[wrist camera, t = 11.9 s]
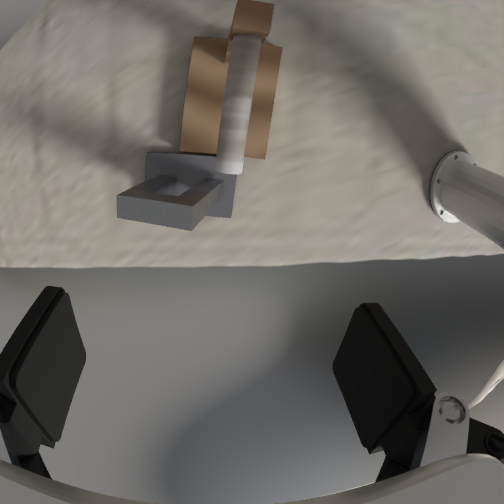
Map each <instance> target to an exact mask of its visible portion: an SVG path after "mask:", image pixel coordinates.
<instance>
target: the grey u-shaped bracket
mask: <svg viewBox="0 0 504 504" xmlns="http://www.w3.org/2000/svg"><path fill="white" fill-rule="evenodd" d="M176 186H177V177H176V176H167V175H159V176H156V177H154V178H152V179H150V180H147V181H145V182H143V183H141V184H139V185H137V186H134V187H132V188H130V189H128V190H126V191H124V192H122V193H120V194H118V195H117V218H122V219H128V220H134V221H139V222H145V223H150V224H156V225H162V226H167V227H173V228H178V229H184V230H189V231H192V230H193V229H194V228H195V226H196V225H197V224H198V223H199V222H200V221H201V220H202V219H203V218H204V217H205V216H206V215H207V214H208V213H209V211H210V210H211V209H212V208H213V207H214V206H215V205H216V204H217V203H218V202H219V201H220V200H221V199H222V196H223V188H224V180H219V179H212V178H205V179H204V180H202V181H201V182H199V183H197V184H196V185H194V186H193V187H191V188H190V189H188V190H187V191H185V192H184V193H182V194H181V195H179V196H174V195H176Z"/></svg>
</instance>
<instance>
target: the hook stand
mask: <svg viewBox="0 0 504 504" xmlns="http://www.w3.org/2000/svg"><path fill="white" fill-rule="evenodd" d="M273 9H274V4H270V3H265V2H259V1H252V0H238V1H237V5H236V9H235V13H234V17H233V22H232V26H231V31H230V35H229V39H221V38H210V37H195V38H194V44H193V49H192V55H191V61H190V68H189V74H188V81H187V88H186V95H185V103H184V111H183V120H182V129H181V139H180V149H179V151H186V152H200V153H213V154H216V161H215V171H216V172H219V173H224V174H241V173H242V168H243V161H244V157H252V158H260V159H265V156H266V149H267V143H268V136H269V130H270V123H271V117H272V110H273V104H274V98H275V91H276V85H277V78H278V72H279V65H280V59H281V53H282V47H277V46H272V45H266V44H262V42H263V41H264V40H265V38H266V37H267V36H268V34H269V33H270V27H271V21H272V15H273Z"/></svg>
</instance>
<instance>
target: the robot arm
mask: <svg viewBox="0 0 504 504" xmlns="http://www.w3.org/2000/svg"><path fill="white" fill-rule="evenodd" d="M430 198H431V204H432V208H433V210H434V212H435V214H436V215H437V216H438V217H439V218H440V219H441V220H443V221H445V222H447V223H456V222H459V221H462V222H463V223H465V224H467V225H468V226H470V227H471V228H473V229H474V230H476V231H477V232H479V233H481V234H482V235H484V236H485V237H487V238H488V239H490V240H491V241H492V242H494V243H495V244H497V245H498V246H500V247H501V248H502V249H504V177H503V176H501V175H498V174H496V173H493V172H491V171H488V170H486V169H483V168H481V167H478V166H477V163H476V162H475V160H474V159H473V157H472V156H471V155H469V154H468V153H466V152H463V151H452V152H450V153H448V154H447V155H445V156H444V157H443V158H442V159H441V161H440V162H439V164H438V165H437V167H436V169H435V171H434V174H433V177H432V181H431V187H430ZM85 362H86V352H85V348H84V346H83V343H82V339H81V336H80V333H79V330H78V326H77V323H76V320H75V316H74V313H73V309H72V305H71V301H70V297H69V295H68V293H65V290H64V289H63V288H61V287H53V286H46V287H45V288H44V290H43V291H42V292H41V294H40V295H39V296H38V298H37V299H36V301H35V302H34V303H33V305H32V306H31V308H30V309H29V310H28V312H27V314H26V315H25V316H24V318H23V319H22V321H21V322H20V324H19V325H18V327H17V328H16V330H15V331H14V333H13V334H12V336H11V338H10V339H9V341H8V343H7V344H6V346H5V347H4V349H3V351H2V352H1V354H0V504H157V503H149V502H141V501H136V500H130V499H124V498H119V497H114V496H109V495H105V494H100V493H96V492H92V491H88V490H85V489H81V488H77V487H74V486H71V485H68V484H64V483H61V482H58V481H55V480H52V478H51V476H50V474H49V472H48V470H47V468H46V466H45V464H44V462H43V460H42V457H41V455H40V453H39V447H40V444H42V445H45V446H48V447H51V448H54V446H55V442H57V441H59V440H60V438H61V435H62V431H63V428H64V424H65V421H66V418H67V414H68V411H69V407H70V405H71V402H72V398H73V395H74V393H75V390H76V387H77V384H78V381H79V378H80V375H81V372H82V370H83V367H84V365H85ZM333 372H334V375H335V377H336V379H337V382H338V385H339V387H340V390H341V392H342V395H343V397H344V400H345V402H346V405H347V407H348V410H349V412H350V415H351V418H352V420H353V422H354V425H355V428H356V430H357V433H358V436H359V438H360V441H361V443H362V445H363V447H365V448H367V450H368V452H369V454H373V453H376V452H379V451H383V450H384V452H385V455H386V456H385V459H384V462H383V465H382V467H381V469H380V471H379V474H378V476H377V479H376V481H375V483H373V484H369V485H366V486H363V487H359V488H356V489H352V490H348V491H344V492H340V493H336V494H331V495H327V496H322V497H317V498H311V499H306V500H299V501H294V502H285V503H278V504H504V434H503V433H502V432H501V431H500V430H498V429H496V428H494V427H492V426H489V425H486V424H484V423H482V422H479V421H477V420H474V419H472V418H470V417H469V416H470V415H469V409H468V406H467V405H466V403H465V402H464V400H463V399H462V398H460V397H459V396H458V395H456V394H454V393H450V392H445V393H442V394H439V395H438V396H437V397H435V396H434V393H435V392H436V390H437V389H436V388H435V386H434V385H433V383H432V381H431V380H430V378H429V376H428V375H427V374H426V372H425V370H424V369H423V367H422V366H421V364H420V363H419V361H418V359H417V358H416V357H415V355H414V353H413V352H412V350H411V349H410V348H409V346H408V345H407V343H406V342H405V340H404V339H403V337H402V336H401V334H400V333H399V331H398V330H397V329H396V327H395V326H394V324H393V323H392V321H391V320H390V319H389V317H388V316H387V314H386V313H385V312H384V311H383V309H382V307H381V306H380V305H379V304H378V303H362V304H361V305H360V306H359V307H358V308H356V309H355V311H354V313H353V316H352V319H351V321H350V323H349V326H348V328H347V331H346V333H345V336H344V338H343V341H342V343H341V345H340V348H339V350H338V352H337V355H336V357H335V359H334V362H333Z"/></svg>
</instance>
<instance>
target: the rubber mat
mask: <svg viewBox="0 0 504 504" xmlns="http://www.w3.org/2000/svg"><path fill="white" fill-rule="evenodd" d="M215 161H216V156H208V155H195V154H180V153H161V152H147V156H146V176H145V181H147V180H150V179H152V178H154V177H156V176H159V175H167V176H176V177H177V186H176V195H174V196H179V195H181V194H182V193H184V192H185V191H187V190H188V189H190V188H191V187H193V186H194V185H196V184H197V183H199V182H201V181H202V180H204V179H205V178H212V179H219V180H224V188H223V196H222V199H221V200H220V201H219V202H218V203H217V204H216V205H215V206H214V207H213V208H212V209H211V210H210V211H209V213H208V214H207V215H206V216H213V217H226V218H231V215H232V207H233V199H234V191H235V183H236V175H237V174H224V173H219V172H216V171H215Z"/></svg>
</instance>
